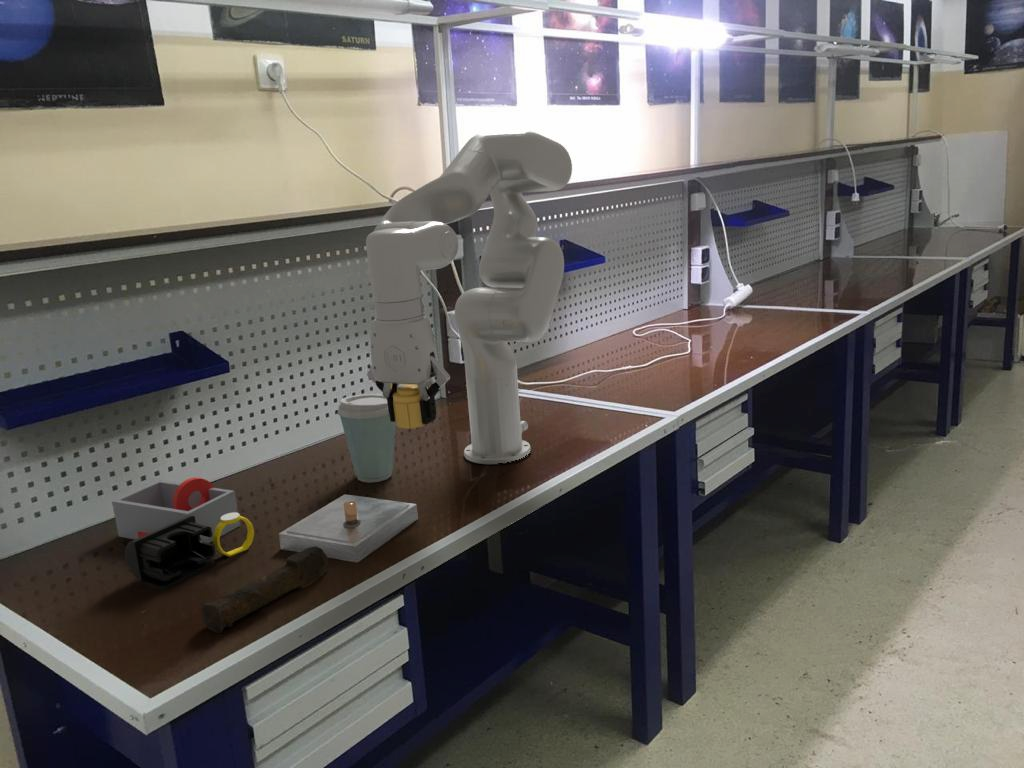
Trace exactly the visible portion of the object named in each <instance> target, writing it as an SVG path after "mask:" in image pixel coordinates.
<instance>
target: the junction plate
mask: <svg viewBox="0 0 1024 768" xmlns="http://www.w3.org/2000/svg"><path fill="white" fill-rule="evenodd" d="M418 514H419V513H418V505H417V503H411V502H405V501H404V502H403V501H397V500H390V499H389V500H388V499H380V498H375V497H369V496H360V495H354V494H353V495H352V494H351V495H350V494H343V495H342V496H341V495H340V496H339V497H337V498H336V499H335V500H333V501H331V502H328V504H326V505H325V506H323V507H321V508H320V509H317V510H316V511H314V512H313V513H311V514H309V515H307V516H306V517H305V518H303V519H301V520H300V521H297V522H296V523H294V524H293V525H291V526H289V527H287V528H286V529H284V530H283V531H280V532H279V533H278V538H279V545H280V550H284V551H290V552H294V553H298V552H301V551H304V550H305V549H307V548H310V547H316V546H317V547H319V548H322V550H323V551H324V553H325V554H326V555H327V558H328V559H335V560H339V561H344V562H350V563H357V564H358V563H359V562H361V561H362V560H363V559H365V558H366V557H368V556H369V555H371V554H372V553H373V552H374V551H376V550H377V549H379V548H380V547H381V546H383V545H384V544H386V543H387V542H389V541H390V540H391V539H392V538H394V537H395V536H396V535H398V534H399V533H401V532H403V530H405V529H407V528H408V527H409V526H411V525H412V524H413V523H414V522H416V521H417V520H419V515H418Z"/></svg>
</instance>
